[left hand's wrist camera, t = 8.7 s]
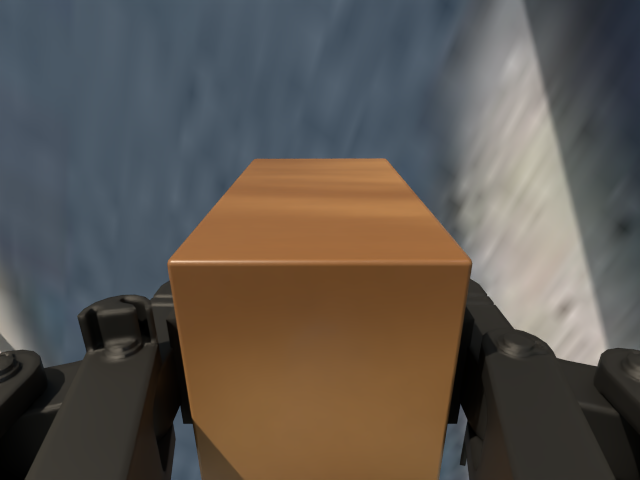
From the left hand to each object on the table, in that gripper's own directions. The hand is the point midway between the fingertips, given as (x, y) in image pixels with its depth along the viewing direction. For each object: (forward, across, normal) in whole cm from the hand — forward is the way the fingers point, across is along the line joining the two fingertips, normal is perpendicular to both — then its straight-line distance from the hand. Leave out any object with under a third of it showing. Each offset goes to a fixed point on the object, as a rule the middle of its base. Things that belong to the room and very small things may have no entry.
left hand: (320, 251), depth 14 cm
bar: (+1, 0, -11) cm, 11 cm away
